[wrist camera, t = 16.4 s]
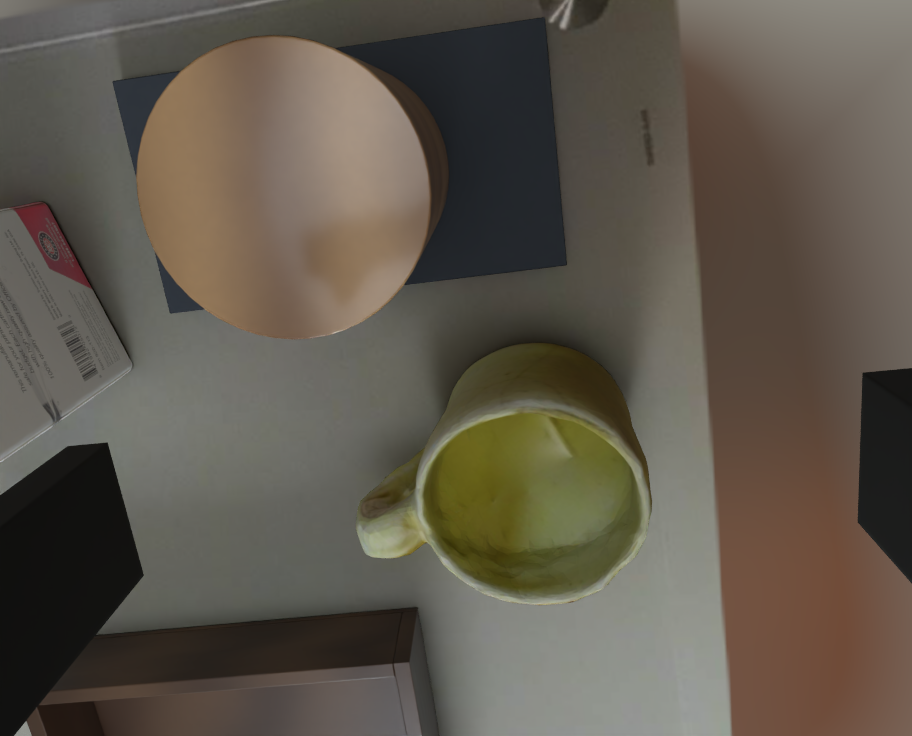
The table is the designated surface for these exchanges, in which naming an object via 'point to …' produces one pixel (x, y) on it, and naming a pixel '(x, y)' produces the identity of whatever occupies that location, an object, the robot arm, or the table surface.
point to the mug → (521, 481)
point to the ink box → (47, 329)
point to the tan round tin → (290, 185)
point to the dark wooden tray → (250, 681)
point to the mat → (454, 146)
